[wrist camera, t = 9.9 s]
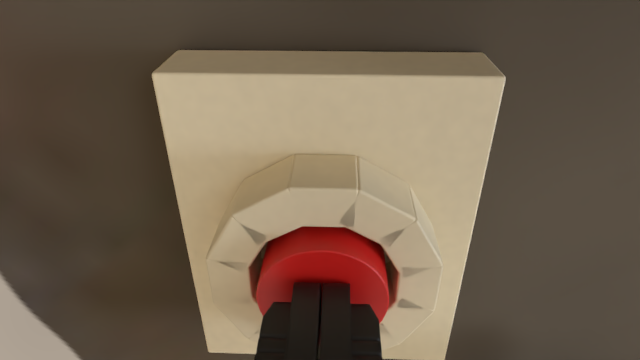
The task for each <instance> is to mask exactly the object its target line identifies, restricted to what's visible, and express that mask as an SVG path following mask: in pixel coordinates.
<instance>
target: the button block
mask: <svg viewBox="0 0 640 360" xmlns="http://www.w3.org/2000/svg"><path fill="white" fill-rule="evenodd" d="M152 79H153V84H154V89H155V94H156V99H157V104H158V109H159V113H160V118H161V123H162V128H163V133H164V138H165V143H166V148H167V152H168V157H169V162H170V167H171V172H172V177H173V182H174V187H175V191H176V196H177V201H178V206H179V211H180V216H181V221H182V226H183V231H184V235H185V240H186V245H187V250H188V255H189V260H190V265H191V270H192V274H193V279H194V284H195V289H196V294H197V299H198V304H199V309H200V313H201V318H202V323H203V328H204V333H205V338H206V343H207V348H208V352H213V353H241V354H256V352H257V345H258V339H259V334H260V329H261V324H262V319H263V315H262V313H261V312H260V309H259V307H258V303H257V298H256V291H257V285H258V281H259V277H260V272H261V268H262V263H263V259H264V254H265V250H266V246H267V243H268V241H270V240H272V239H275V238H277V237H279V236H281V235H284V234H286V233H288V232H290V231H293V230H295V229H297V228H299V227H302V226H310V227H346V228H348V229H350V230H352V231H354V232H356V233H358V234H360V235H362V236H364V237H366V238H368V239H370V240H372V241H374V242H376V243H378V244H380V245H381V246H382V248H383V249H384V255H385V264H386V272H387V281H388V290H389V306H388V310H387V312H386V315H385V316H384V318H383V320H382V321H381V322H380V324H379V326H380V338H381V339H380V340H381V349H382V359H410V360H445V356H446V351H447V347H448V342H449V338H450V333H451V328H452V324H453V319H454V315H455V310H456V305H457V301H458V296H459V292H460V287H461V282H462V278H463V273H464V269H465V264H466V259H467V255H468V250H469V246H470V241H471V236H472V232H473V227H474V223H475V218H476V213H477V209H478V204H479V200H480V195H481V190H482V186H483V181H484V177H485V172H486V167H487V163H488V158H489V154H490V149H491V144H492V140H493V135H494V131H495V126H496V121H497V117H498V112H499V108H500V103H501V98H502V94H503V89H504V85H505V80H506V78H505V76H504V75H503V74H502V72H501V71H500V70H499V69H498V68H497V67H496V66H495V65H494V64H493V63H492V62H491V61H490V60H489V58H488V57H487V56H486V55H485V54H484V53H482V52H363V51H240V50H178V51H176V52H175V53H174V54H173V55H172V56H171V57H169V58H168V59H167V60H166V61H165V62H164V63H163V64H162V65H161V66H159V67H158V68H157V69H156V70H155V71H154V72H153V73H152Z"/></svg>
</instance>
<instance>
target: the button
mask: <svg viewBox="0 0 640 360" xmlns="http://www.w3.org/2000/svg"><path fill="white" fill-rule="evenodd" d="M294 282H308V283H321V314H322V294H323V283H350V304H370V306H371V307H372V309H373V311H374V313H375V314H376V316H377V318H378V319H379V324H380V322H381V321H382V320H383V318H384V316H385V315H386V312H387V310H388V306H389V290H388V281H387V272H386V264H385V255H384V249H383V248H382V246H381V245H380V244H378V243H376V242H374V241H372V240H370V239H368V238H366V237H364V236H362V235H360V234H358V233H356V232H354V231H352V230H350V229H348V228H346V227H310V226H302V227H299V228H297V229H295V230H293V231H290V232H288V233H286V234H284V235H281V236H279V237H277V238H275V239H272V240H270V241H268V243H267V246H266V250H265V254H264V259H263V263H262V268H261V272H260V277H259V281H258V285H257V291H256V298H257V303H258V307H259V309H260V312H261V313H262V315H263V316H264V315H265V313H266V312H267V310H268V309H269V308H270V306H271V305H272V303H273V302H291V300H292V293H293V285H294Z"/></svg>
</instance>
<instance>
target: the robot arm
mask: <svg viewBox="0 0 640 360" xmlns="http://www.w3.org/2000/svg"><path fill="white" fill-rule="evenodd" d="M380 339H381V338H380V326H379V319H378V318H377V316H376V314H375V313H374V311H373V309H372V307H371V306H370V304H350V283H323V294H322V314H321V283H308V282H294V285H293V293H292V300H291V302H273V303H272V305H271V306H270V308H269V309H268V310H267V312H266V313H265V315H264V316H263V319H262V324H261V329H260V334H259V339H258V345H257V352H256V355H255V360H382V349H381V340H380Z"/></svg>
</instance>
